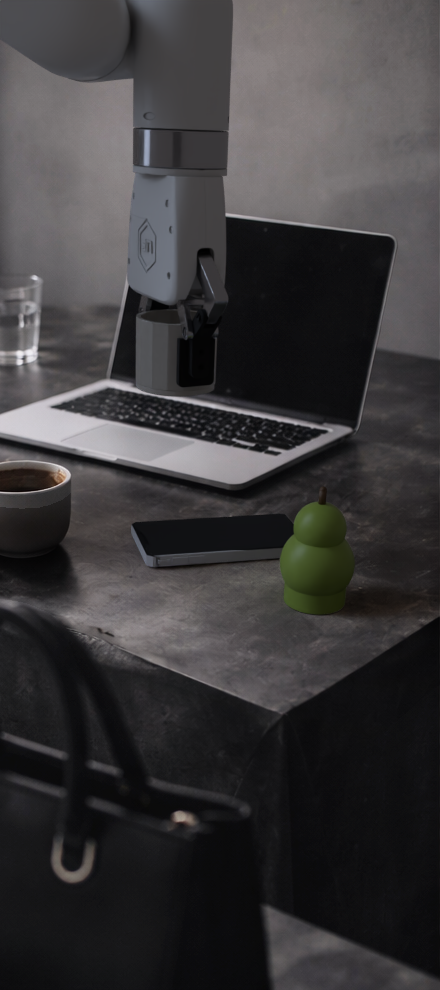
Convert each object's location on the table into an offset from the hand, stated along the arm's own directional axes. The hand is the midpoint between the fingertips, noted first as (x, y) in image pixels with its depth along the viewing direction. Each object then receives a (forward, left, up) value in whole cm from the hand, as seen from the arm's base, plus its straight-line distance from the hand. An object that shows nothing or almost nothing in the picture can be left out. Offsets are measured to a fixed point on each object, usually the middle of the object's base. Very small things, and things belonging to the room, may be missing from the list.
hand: (175, 372), depth 84 cm
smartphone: (+4, 0, -16) cm, 17 cm away
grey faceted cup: (0, 0, -1) cm, 1 cm away
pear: (+12, -11, -16) cm, 23 cm away
